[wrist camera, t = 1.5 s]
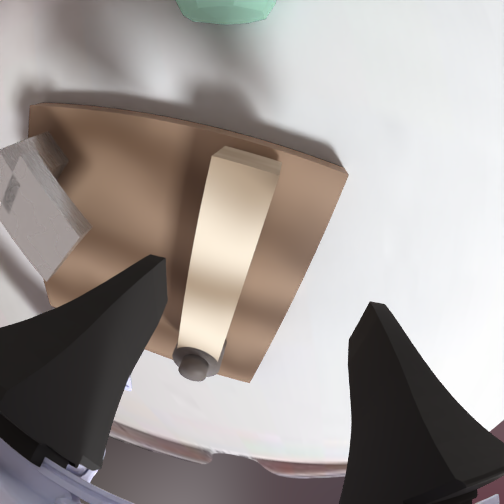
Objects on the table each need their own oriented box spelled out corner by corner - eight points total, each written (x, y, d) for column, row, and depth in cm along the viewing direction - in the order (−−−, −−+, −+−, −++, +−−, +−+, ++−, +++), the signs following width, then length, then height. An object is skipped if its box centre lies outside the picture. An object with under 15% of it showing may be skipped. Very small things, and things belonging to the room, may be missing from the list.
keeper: (123, 201, 17) (79, 237, 13) (83, 246, 19) (46, 281, 15) (58, 115, 14) (6, 131, 10) (27, 171, 16) (-16, 195, 12)
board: (251, 370, 26) (249, 383, 25) (57, 296, 25) (50, 304, 24) (344, 167, 15) (348, 174, 14) (43, 102, 15) (29, 105, 13)
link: (221, 357, 23) (212, 392, 20) (180, 344, 22) (167, 377, 19) (287, 164, 14) (285, 184, 11) (219, 144, 14) (198, 159, 11)
